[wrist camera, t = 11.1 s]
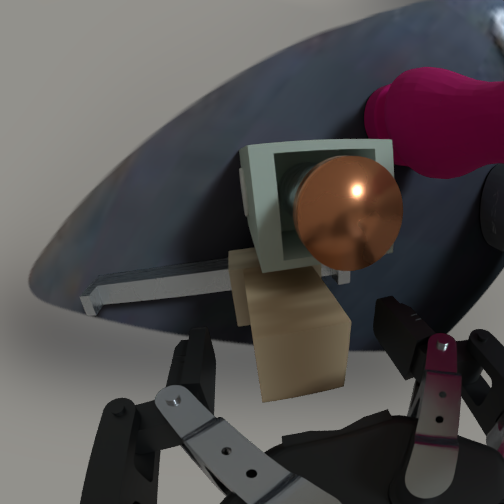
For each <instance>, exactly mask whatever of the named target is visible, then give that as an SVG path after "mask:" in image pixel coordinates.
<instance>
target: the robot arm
mask: <svg viewBox="0 0 504 504" xmlns="http://www.w3.org/2000/svg"><path fill="white" fill-rule="evenodd" d="M480 222H481V229H482V234H483V236H484V238H485V240H486V242H487V243H488V244H489V245H491V246H492V247H494V248H496V249H498V250H500V251H502V252H504V164H502V163H500V164H497V165H496V166H495V167H494V168H493V169H492V170H491V172H490V173H489V175H488V177H487V179H486V182H485V185H484V188H483V193H482V197H481V206H480ZM373 330H374V334H375V337H376V338H377V340H378V341H379V342H380V344H381V345H382V347H383V348H384V350H385V351H386V353H387V354H388V355H389V357H390V358H391V360H392V361H393V363H394V364H395V366H396V367H397V369H398V370H399V372H400V373H401V375H402V376H403V378H404V379H405V380H408V379H410V378H413V377H414V378H415V379H416V381H415V384H414V388H413V393H412V398H411V402H410V406H409V411H408V414H407V416H400V415H397V416H391V415H390V413H389V411H388V409H387V410H384V411H381V412H378V413H375V414H372V415H369V416H366V417H363V418H362V419H360V420H358V421H356V422H354V423H352V424H351V425H349V426H347V427H345V428H343V429H341V430H334V431H307V432H302V433H298V434H292V435H286V436H282V444H279V445H277V446H275V447H273V448H271V449H269V450H268V451H266V452H265V453H263V452H262V451H261V450H260V449H259V448H257V447H256V446H255V445H254V444H253V443H251V442H250V441H249V440H248V439H247V438H245V437H244V436H243V435H242V434H241V433H239V432H238V431H237V430H236V429H235V428H234V427H233V426H231V425H230V424H229V423H228V422H227V421H226V420H225V419H223V418H222V417H218V418H216V417H215V416H214V399H215V375H216V359H215V353H214V349H213V345H212V342H211V338H210V334H209V330H208V328H207V327H202V328H192V329H191V330H190V335H189V340H181V342H180V343H179V344H178V345H177V346H176V347H175V350H174V355H173V359H172V364H171V367H170V371H169V376H168V380H167V385H166V387H165V388H163V389H162V390H160V391H159V392H158V394H157V395H156V397H155V400H153V401H150V402H146V403H143V404H138V405H134V403H133V402H132V401H131V400H129V399H127V398H118V399H115V400H112V401H111V402H109V403H108V404H107V405H106V406H105V408H104V410H103V413H102V417H101V421H100V424H99V427H98V430H97V434H96V437H95V441H94V445H93V448H92V453H91V456H90V460H89V464H88V468H87V472H86V477H85V481H84V486H83V491H82V496H81V501H80V504H157V491H158V475H159V462H160V450H163V449H167V448H171V447H175V446H178V445H180V446H181V447H182V448H183V449H184V450H185V451H186V453H187V454H188V455H189V456H190V457H191V459H192V460H193V461H194V462H195V463H196V464H197V465H198V466H199V468H201V470H202V471H203V472H204V473H205V474H206V475H207V477H208V478H209V479H210V480H211V481H212V483H213V484H214V485H215V486H216V487H217V488H218V489H219V490H220V491H221V492H222V493H223V494H224V495H225V496H226V497H225V498H224V500H223V501H222V502H221V503H220V504H504V346H503V345H502V344H501V343H500V342H499V341H498V340H497V339H496V338H495V337H494V336H493V335H492V334H491V333H490V332H488V331H486V330H483V329H476V330H474V331H472V332H471V334H470V336H469V339H468V340H464V341H455V339H454V338H453V337H451V336H450V335H448V334H444V333H437V334H436V333H435V332H434V331H433V330H432V329H431V328H430V327H429V326H428V324H427V323H426V322H425V321H424V320H423V319H421V317H420V316H419V315H418V314H416V312H415V311H414V310H413V309H412V308H411V307H409V306H407V305H405V304H403V303H401V304H400V303H399V302H398V301H397V300H396V299H395V298H394V297H393V296H388V297H384V298H380V299H377V301H376V306H375V315H374V323H373ZM483 369H484V370H485V371H486V373H487V374H488V375H489V376H490V378H491V380H492V387H491V388H490V387H489V385H488V384H487V382H486V381H485V380H484V379H483V377H482V376H481V375H480V374H481V372H482V370H483ZM461 397H462V398H463V400H464V401H465V403H466V404H467V406H468V407H469V409H470V411H471V412H472V413H473V415H474V417H475V418H476V420H477V422H478V423H479V425H480V427H481V428H482V430H483V432H484V433H485V435H486V444H487V445H484V444H481V443H478V442H475V441H472V440H470V439H467V438H464V437H461V436H459V435H458V427H459V417H460V404H461Z"/></svg>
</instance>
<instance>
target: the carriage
mask: <svg viewBox="0 0 504 504" xmlns="http://www.w3.org/2000/svg"><path fill="white" fill-rule="evenodd" d="M228 268H229V276H230V282H231V289H232V295H233V300H234V306H235V312H236V318H237V324H238V327H239V326H246V325H251V330H252V336H253V343H254V350H255V356H256V363H257V370H258V376H259V383H260V389H261V396H262V402H270V401H277V400H282V399H288V398H294V397H299V396H303V395H308V394H313V393H318V392H322V391H327V390H331V389H335V388H339V387H343V386H344V381H345V374H346V366H347V358H348V350H349V340H350V330H351V320H350V319H349V317H348V316H347V314H346V313H345V312H344V310H343V309H342V307H341V306H340V304H339V303H338V302H337V300H336V299H335V297H334V296H333V294H332V293H331V292H330V290H329V289H328V287H327V286H326V285H325V283H324V282H323V280H322V279H321V264H320V265H313V266H307V267H300V268H293V269H287V270H280V271H273V272H266V273H262V270H261V267H260V263H259V260H258V256H257V253H256V250H255V247H254V248H247V249H239V250H232V251H229V255H228Z"/></svg>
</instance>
